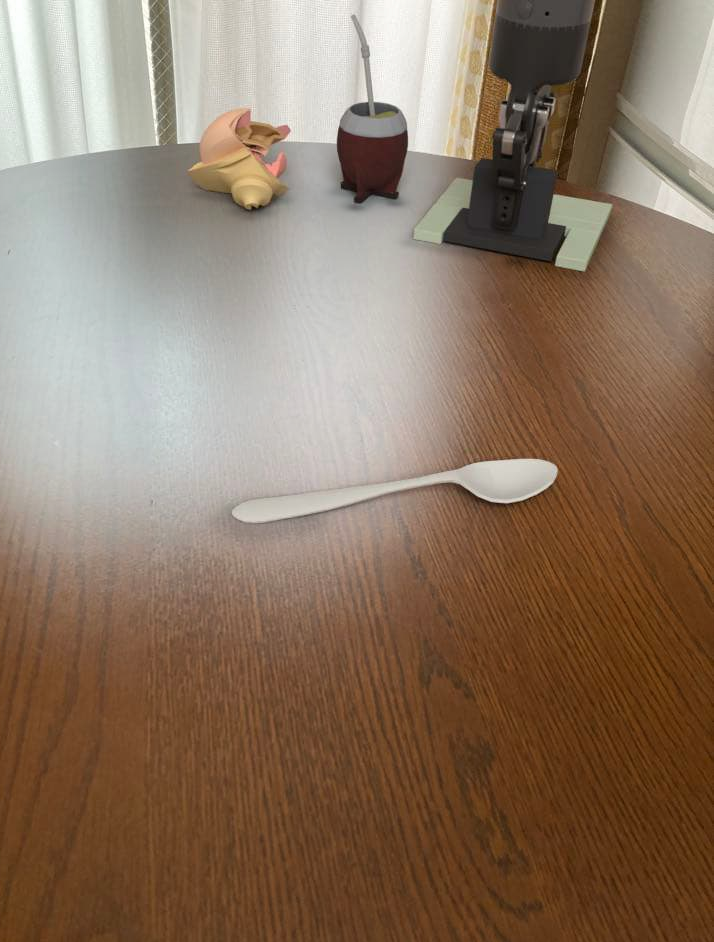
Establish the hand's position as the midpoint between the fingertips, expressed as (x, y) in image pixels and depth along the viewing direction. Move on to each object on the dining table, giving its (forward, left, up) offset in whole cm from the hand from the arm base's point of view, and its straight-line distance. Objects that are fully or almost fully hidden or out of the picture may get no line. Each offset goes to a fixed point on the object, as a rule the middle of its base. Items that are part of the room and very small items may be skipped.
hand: (508, 221), depth 85 cm
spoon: (-3, +40, -2) cm, 40 cm away
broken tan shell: (+27, +1, -2) cm, 27 cm away
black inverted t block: (0, 0, -2) cm, 2 cm away
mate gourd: (+16, -6, -2) cm, 17 cm away
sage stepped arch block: (0, -4, -2) cm, 4 cm away
